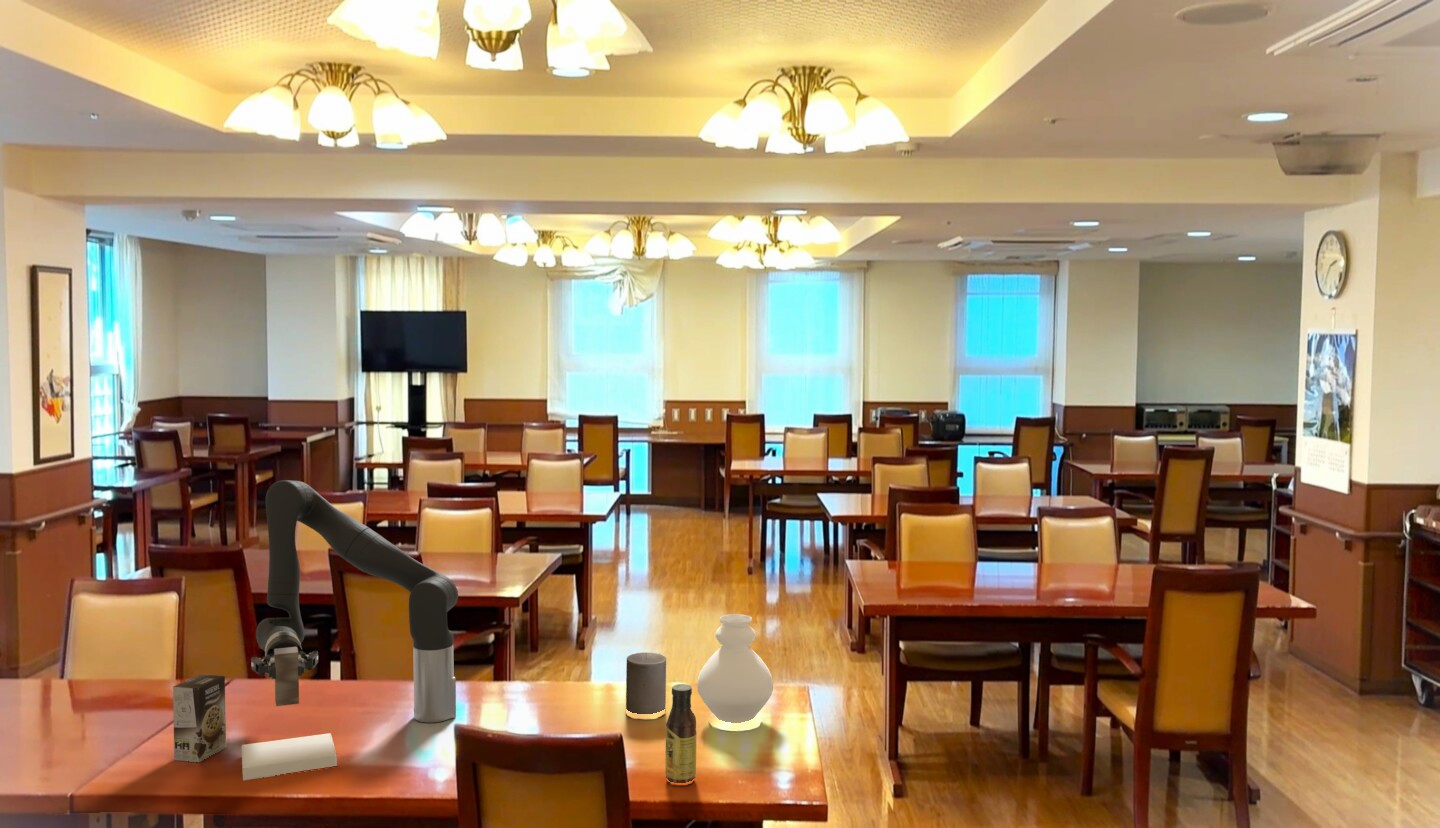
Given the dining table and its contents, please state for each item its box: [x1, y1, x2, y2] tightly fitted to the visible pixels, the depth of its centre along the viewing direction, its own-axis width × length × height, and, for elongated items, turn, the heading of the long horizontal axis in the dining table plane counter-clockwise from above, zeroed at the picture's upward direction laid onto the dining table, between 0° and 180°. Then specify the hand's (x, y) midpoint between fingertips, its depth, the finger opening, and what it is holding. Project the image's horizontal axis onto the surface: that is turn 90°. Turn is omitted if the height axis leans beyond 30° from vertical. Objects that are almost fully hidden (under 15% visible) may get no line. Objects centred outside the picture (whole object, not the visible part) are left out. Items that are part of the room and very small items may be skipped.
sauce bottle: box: [665, 683, 698, 783], centre depth 220 cm, size 7×6×20 cm
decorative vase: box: [696, 613, 774, 723], centre depth 255 cm, size 18×18×25 cm
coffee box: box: [172, 674, 227, 763], centre depth 233 cm, size 9×6×16 cm
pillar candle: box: [625, 652, 667, 714], centre depth 261 cm, size 10×10×15 cm
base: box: [241, 732, 338, 781], centre depth 230 cm, size 18×14×2 cm
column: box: [274, 647, 300, 707], centre depth 229 cm, size 4×4×11 cm
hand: (287, 672), depth 226 cm, fingers closed on column, 4 cm apart
